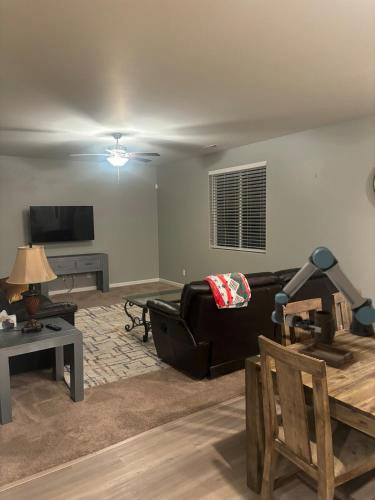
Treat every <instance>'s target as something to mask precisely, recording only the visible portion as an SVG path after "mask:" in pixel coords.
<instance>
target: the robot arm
mask: <svg viewBox="0 0 375 500" xmlns="http://www.w3.org/2000/svg"><path fill="white" fill-rule="evenodd" d="M339 263H340V262H339V261H338V259H337V258H336V256H335V255H334V254H333V253H332V251H331V250H330V249H329V248H328V247H326V246H318V247H316V248H315V249H314V250H313V251H312V253H311V254H310V256H309V257H308V258H307V260H306V262H305V264H304V265H303V266H302V267H301V268H300V269H299V270H298V271H297V273H296V274H295V275H294V276H293V277H292V279H291V280H290V281H288V283H287V284H286V285H285V286H284V287H283V289H282V290H281V291H280V292H278V293H277V294H275V298H274V300H275V302H274V303H275V304H274V305H275V310H274V311H273V312H272V314H271V320H272V322H273V323H277V324H279V325H283V324H282V323H283V319H282V318H283V316H282V308H283V307H282V305H284V306H285V307H286V305H287V306H288V301H289V300H290V299H291V298H292V296H294V295H295V293H297V291H298V290H299V289H300V288H301V287H302V286H303V285H304V284H305V282H306V281H307V280H308V279H309V278H310V277H311V276H312V275H313V274H314V273H315V271H317V270H320V272H321V273H323V274H326V276H327V277H328V278H329V280H331V282H332V283H333V285H334V286H335V287H336V289H337V290H338V291H339V292H340V294H341V295H342V297H343V298H344V299H345V300H346V302H347V303H348V305H349V307H348V309H349V310H350V311H351V322H350V324H349V326H348V332H349V333H350V334H352V335H355V336H360V337H371V336H374V335H375V328H374V325H373V324H374V323H375V307H374V306H373V299H372V298H370V297H365V296H362V295H361V294H360V292H359V291H358V289H357V288H356V287H355V286H354V284H353V283H352V282H351V281H350V279H349V278H348V276H346V275H347V274H345V272H344V271H343V270H342V269H341V267H340V266H339ZM285 322H286V323H287V325H286V326H288V325H289V327H293V328H297V329H300V330H302V331H305V332H308V333H310V331H311V332H313V333H314V332H319V333H321V328H319V327H314V322H315V318H303V316H301V315H297V314H293V313H288V314H286V315H285Z"/></svg>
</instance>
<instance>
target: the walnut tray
mask: <svg viewBox="0 0 375 500" xmlns="http://www.w3.org/2000/svg"><path fill="white" fill-rule="evenodd" d="M298 353H300V354H304V355H307V356H310V357H313V358H316V359H319V360H324V361H325V362H326V366H329V367H331V368H332V367H333V368H337V369H338V368H340V367H341V366H343V365H344V364H346V363H347V362H349V361H351V360H352V359H354V351H353V350H348V349H345V348H340V347H336V346H334V345H333V346H329V345H325V344H321V343H318V342H314V341H312V343H309V344H308V345H305V346H304V347H302V348H300V349H298V350H297V354H298Z"/></svg>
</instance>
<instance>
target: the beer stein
mask: <svg viewBox="0 0 375 500" xmlns="http://www.w3.org/2000/svg"><path fill="white" fill-rule="evenodd" d="M333 317H334V316H333V312H331V311H328V310H316V311H314V319H315V322H314V325H313V326H314V327H319V328H321V333H319V332H314V331H313V340H314V341H313V342H318V343H321V344H325V345H329V346H333V347H334V344H335V336H336V333H337V330H336V329H337V328H336V322H335V318H333Z"/></svg>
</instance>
